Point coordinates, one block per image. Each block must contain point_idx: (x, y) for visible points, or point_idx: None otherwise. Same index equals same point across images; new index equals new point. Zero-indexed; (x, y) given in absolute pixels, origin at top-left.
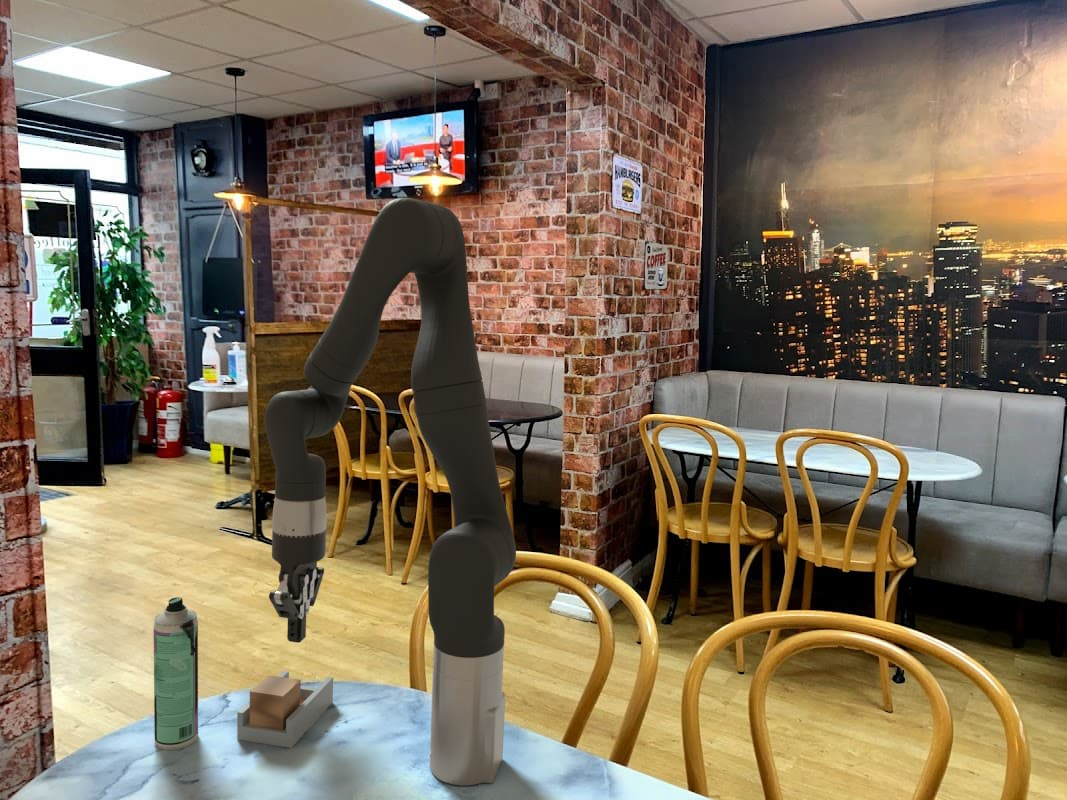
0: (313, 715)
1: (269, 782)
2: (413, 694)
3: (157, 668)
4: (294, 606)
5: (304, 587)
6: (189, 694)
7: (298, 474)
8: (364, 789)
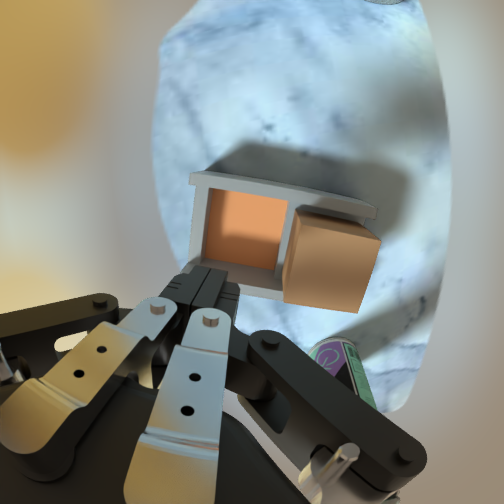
0: (284, 184)
1: (435, 209)
2: (162, 47)
3: None
4: (298, 384)
5: (193, 435)
6: (364, 390)
7: None
8: (439, 82)
